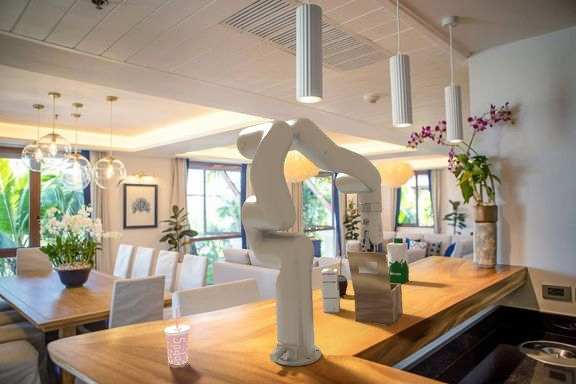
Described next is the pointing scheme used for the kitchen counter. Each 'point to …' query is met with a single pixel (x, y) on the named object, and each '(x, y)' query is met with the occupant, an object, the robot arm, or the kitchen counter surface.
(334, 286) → the syrup box
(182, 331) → the beverage cup
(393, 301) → the carton
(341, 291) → the mate gourd
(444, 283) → the kitchen counter surface
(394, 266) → the milk carton
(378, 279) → the carton flap
